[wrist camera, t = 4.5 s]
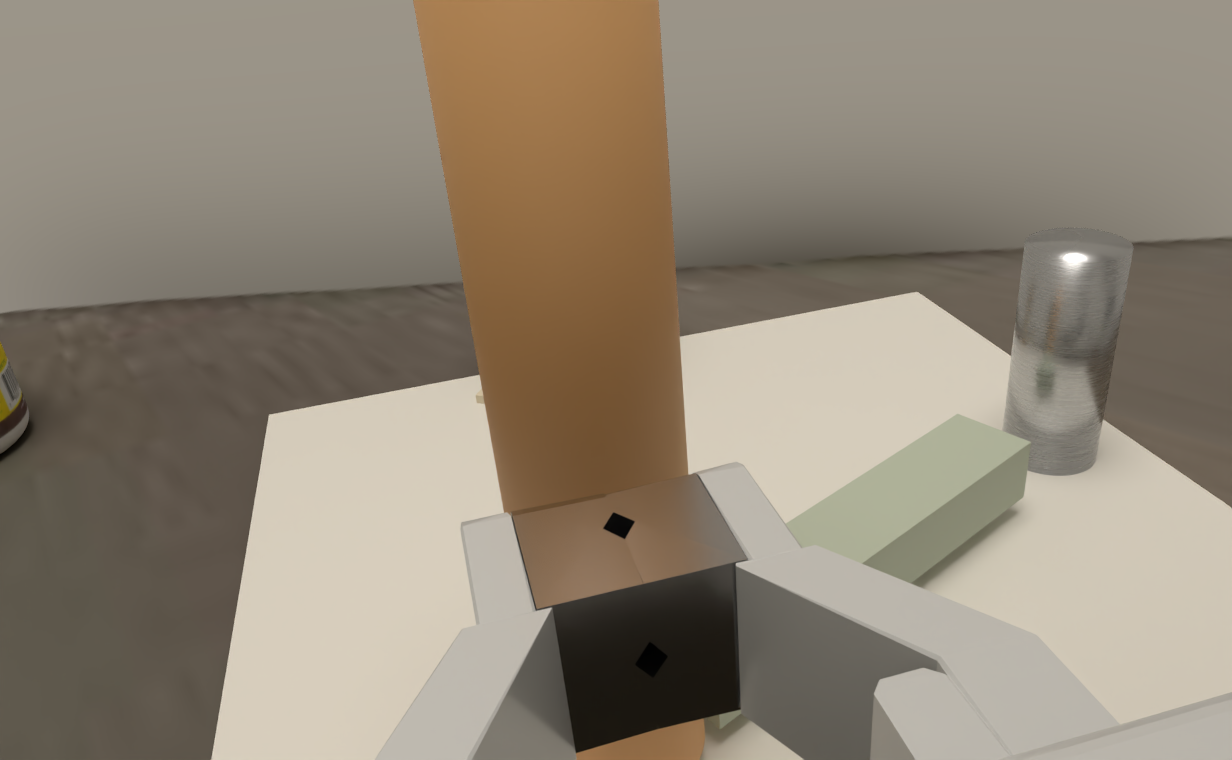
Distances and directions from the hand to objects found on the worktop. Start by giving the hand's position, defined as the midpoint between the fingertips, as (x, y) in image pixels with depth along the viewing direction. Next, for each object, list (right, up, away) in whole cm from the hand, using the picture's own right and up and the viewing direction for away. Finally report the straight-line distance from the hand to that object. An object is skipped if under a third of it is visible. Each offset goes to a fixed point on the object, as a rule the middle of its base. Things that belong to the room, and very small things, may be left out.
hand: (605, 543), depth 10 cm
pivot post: (+12, 0, +16) cm, 20 cm away
